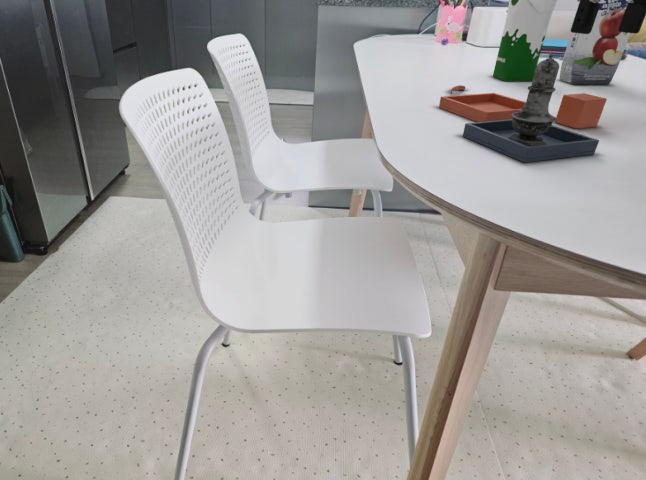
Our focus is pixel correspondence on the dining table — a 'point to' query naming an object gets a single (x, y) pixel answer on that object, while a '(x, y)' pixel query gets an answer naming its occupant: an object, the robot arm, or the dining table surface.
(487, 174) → the dining table surface
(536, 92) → the carved stone statue
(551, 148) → the slate tray
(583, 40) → the juice carton
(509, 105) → the terracotta tray
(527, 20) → the soya milk
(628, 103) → the dining table surface
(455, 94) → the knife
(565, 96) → the terracotta block
